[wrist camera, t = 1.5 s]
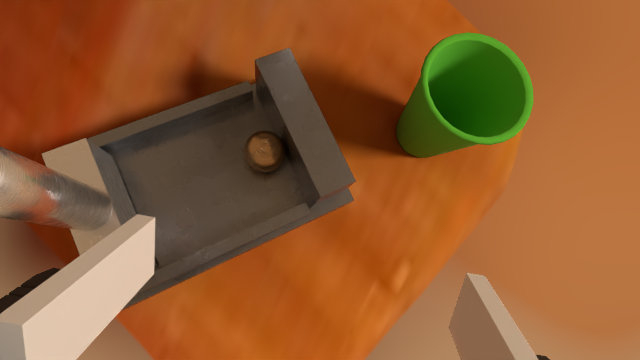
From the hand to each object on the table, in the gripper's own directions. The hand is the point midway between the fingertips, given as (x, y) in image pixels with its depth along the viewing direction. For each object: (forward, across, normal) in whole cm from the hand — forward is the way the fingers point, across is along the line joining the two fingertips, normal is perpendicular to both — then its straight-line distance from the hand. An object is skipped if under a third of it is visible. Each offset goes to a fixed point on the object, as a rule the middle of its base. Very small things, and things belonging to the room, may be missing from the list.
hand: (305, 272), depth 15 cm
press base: (+18, -10, -4) cm, 21 cm away
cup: (+25, +9, +3) cm, 27 cm away
